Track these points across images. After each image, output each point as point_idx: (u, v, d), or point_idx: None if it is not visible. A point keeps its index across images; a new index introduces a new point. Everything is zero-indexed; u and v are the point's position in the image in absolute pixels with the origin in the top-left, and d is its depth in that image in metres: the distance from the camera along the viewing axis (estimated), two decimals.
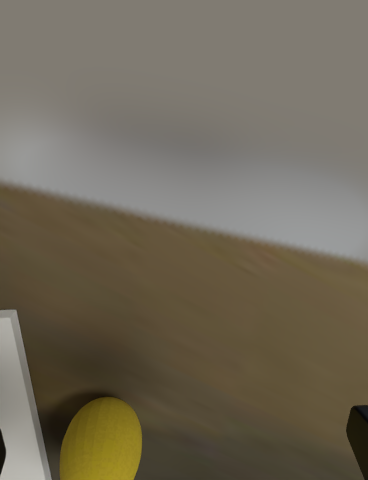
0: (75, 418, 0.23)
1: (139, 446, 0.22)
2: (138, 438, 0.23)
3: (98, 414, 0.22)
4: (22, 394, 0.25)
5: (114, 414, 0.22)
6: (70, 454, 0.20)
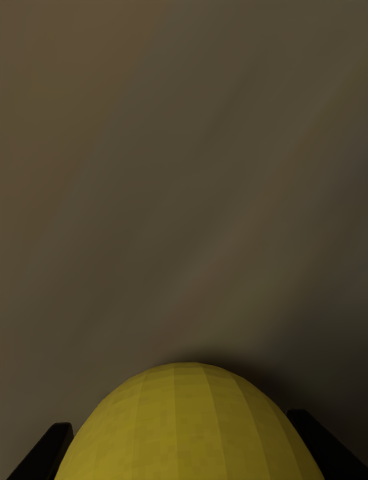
0: None
1: (158, 476, 0.05)
2: (131, 461, 0.05)
3: None
4: None
5: None
6: None
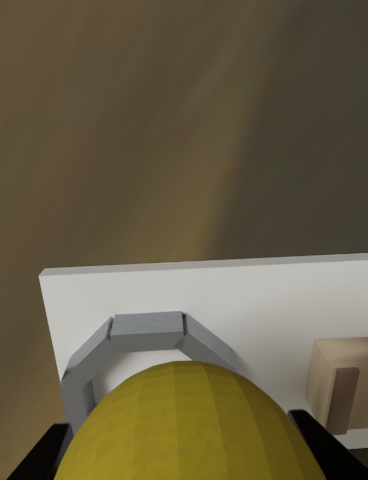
0: None
1: (159, 474, 0.05)
2: (132, 459, 0.05)
3: None
4: (160, 275, 0.19)
5: None
6: None
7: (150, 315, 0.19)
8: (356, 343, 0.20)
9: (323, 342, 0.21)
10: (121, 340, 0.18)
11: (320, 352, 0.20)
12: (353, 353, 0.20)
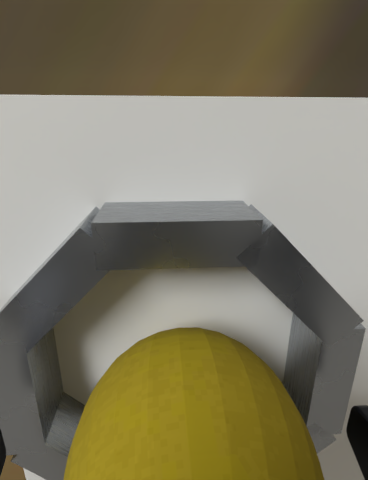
0: None
1: (169, 402, 0.06)
2: (147, 393, 0.06)
3: None
4: (205, 109, 0.09)
5: (77, 428, 0.07)
6: None
7: (179, 203, 0.09)
8: None
9: None
10: (118, 237, 0.08)
11: None
12: None
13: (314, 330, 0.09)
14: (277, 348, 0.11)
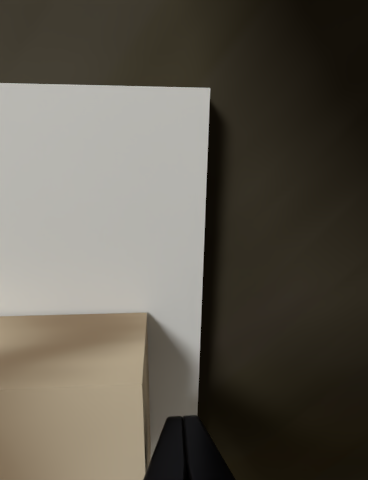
0: None
1: None
2: None
3: None
4: None
5: None
6: None
7: None
8: (2, 328, 0.08)
9: None
10: None
11: None
12: None
13: None
14: None
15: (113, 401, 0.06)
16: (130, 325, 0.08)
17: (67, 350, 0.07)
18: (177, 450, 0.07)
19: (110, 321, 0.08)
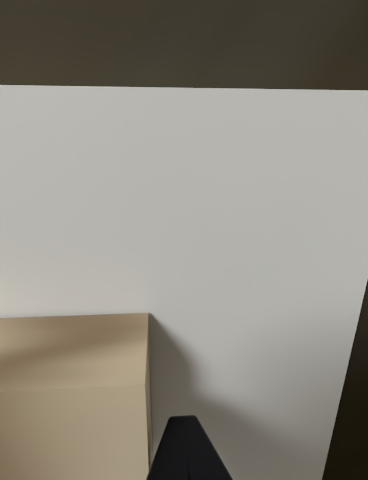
0: None
1: None
2: None
3: None
4: None
5: None
6: None
7: None
8: (4, 330, 0.08)
9: None
10: None
11: None
12: None
13: None
14: None
15: (116, 401, 0.06)
16: (132, 326, 0.08)
17: (69, 351, 0.07)
18: (180, 450, 0.07)
19: (112, 322, 0.08)
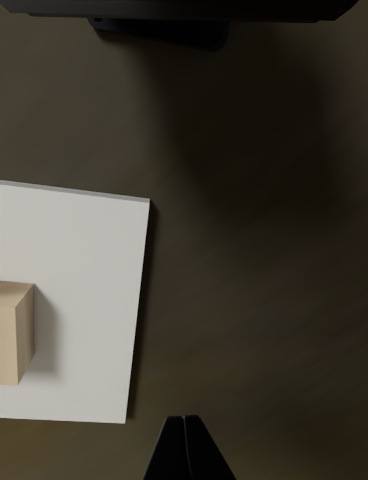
0: None
1: None
2: None
3: None
4: None
5: None
6: None
7: None
8: None
9: None
10: None
11: None
12: None
13: None
14: None
15: (3, 313, 0.16)
16: (22, 287, 0.18)
17: None
18: (176, 450, 0.07)
19: (14, 285, 0.18)
